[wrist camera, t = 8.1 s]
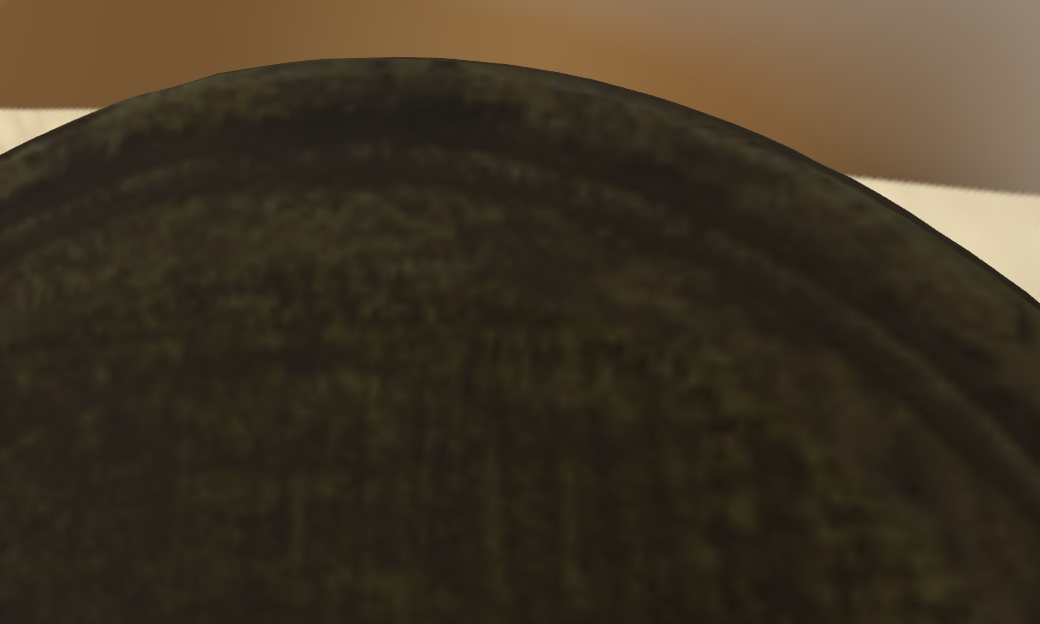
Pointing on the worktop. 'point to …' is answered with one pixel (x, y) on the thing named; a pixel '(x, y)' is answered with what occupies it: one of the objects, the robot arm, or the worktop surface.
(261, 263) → the container
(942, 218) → the worktop surface
